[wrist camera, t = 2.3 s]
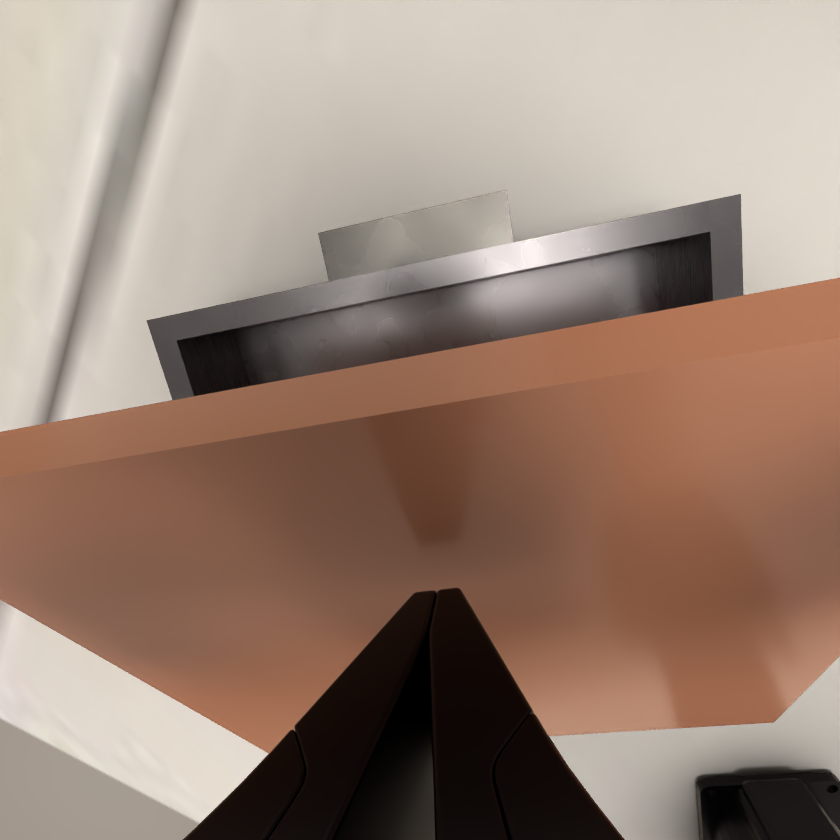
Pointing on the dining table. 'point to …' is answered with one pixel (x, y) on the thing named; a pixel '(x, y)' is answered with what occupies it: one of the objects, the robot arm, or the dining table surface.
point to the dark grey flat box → (453, 290)
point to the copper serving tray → (466, 520)
